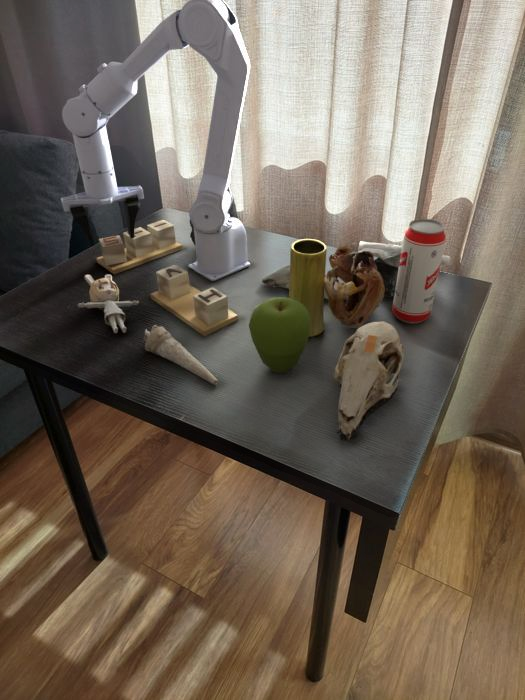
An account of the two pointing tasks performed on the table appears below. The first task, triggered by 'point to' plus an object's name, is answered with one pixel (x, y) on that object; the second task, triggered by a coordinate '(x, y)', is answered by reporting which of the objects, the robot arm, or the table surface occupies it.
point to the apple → (280, 332)
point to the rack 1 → (146, 246)
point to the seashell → (174, 352)
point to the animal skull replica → (367, 374)
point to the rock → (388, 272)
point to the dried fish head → (353, 286)
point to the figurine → (392, 250)
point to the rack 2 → (192, 301)
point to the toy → (107, 301)
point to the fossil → (283, 279)
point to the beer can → (418, 270)
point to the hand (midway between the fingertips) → (111, 239)
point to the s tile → (113, 250)
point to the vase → (309, 279)
